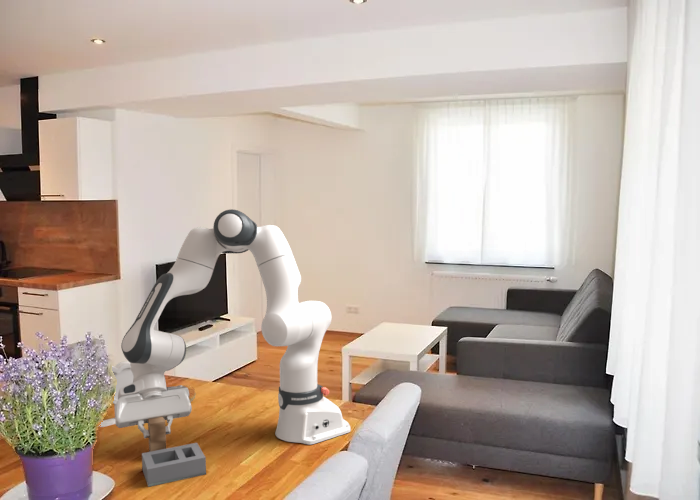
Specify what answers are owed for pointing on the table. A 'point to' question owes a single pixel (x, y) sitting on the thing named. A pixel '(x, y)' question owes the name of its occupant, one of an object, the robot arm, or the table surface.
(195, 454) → the caddy
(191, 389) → the pastry
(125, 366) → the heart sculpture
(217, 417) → the table surface
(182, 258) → the robot arm
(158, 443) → the walnut peg
